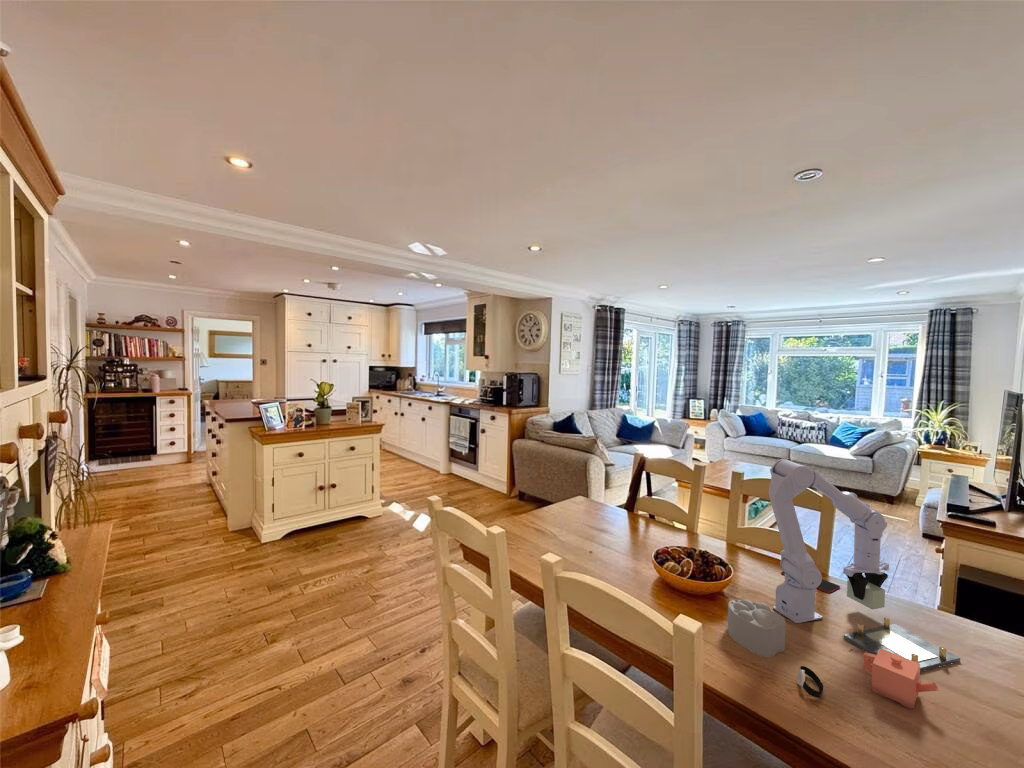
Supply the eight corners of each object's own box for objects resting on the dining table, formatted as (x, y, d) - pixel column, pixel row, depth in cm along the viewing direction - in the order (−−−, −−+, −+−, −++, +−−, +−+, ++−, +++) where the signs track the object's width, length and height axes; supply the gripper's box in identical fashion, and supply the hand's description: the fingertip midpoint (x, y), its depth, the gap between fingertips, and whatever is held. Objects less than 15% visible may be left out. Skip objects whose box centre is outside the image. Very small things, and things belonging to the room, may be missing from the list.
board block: (872, 609, 118) (872, 591, 118) (846, 596, 125) (847, 579, 125) (884, 607, 119) (885, 589, 119) (858, 594, 126) (859, 577, 126)
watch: (793, 673, 99) (793, 657, 99) (817, 678, 97) (817, 663, 97) (801, 696, 92) (802, 680, 92) (827, 703, 90) (828, 686, 90)
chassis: (904, 675, 98) (905, 661, 98) (843, 638, 111) (844, 625, 111) (960, 661, 102) (960, 647, 102) (894, 627, 116) (895, 614, 116)
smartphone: (791, 567, 149) (841, 586, 136) (791, 569, 149) (841, 589, 136) (779, 572, 146) (829, 592, 133) (779, 575, 146) (829, 595, 133)
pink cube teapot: (935, 723, 85) (936, 683, 84) (859, 689, 94) (860, 652, 94) (940, 703, 90) (941, 666, 89) (867, 672, 99) (868, 638, 99)
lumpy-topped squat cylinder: (765, 660, 103) (766, 625, 103) (717, 631, 115) (718, 599, 114) (790, 647, 108) (791, 613, 108) (742, 620, 120) (742, 590, 119)
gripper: (862, 559, 116) (860, 608, 116) (901, 553, 119) (899, 600, 120) (836, 548, 123) (835, 594, 123) (874, 543, 126) (873, 588, 127)
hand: (865, 596), depth 122 cm, fingers closed on board block, 4 cm apart
